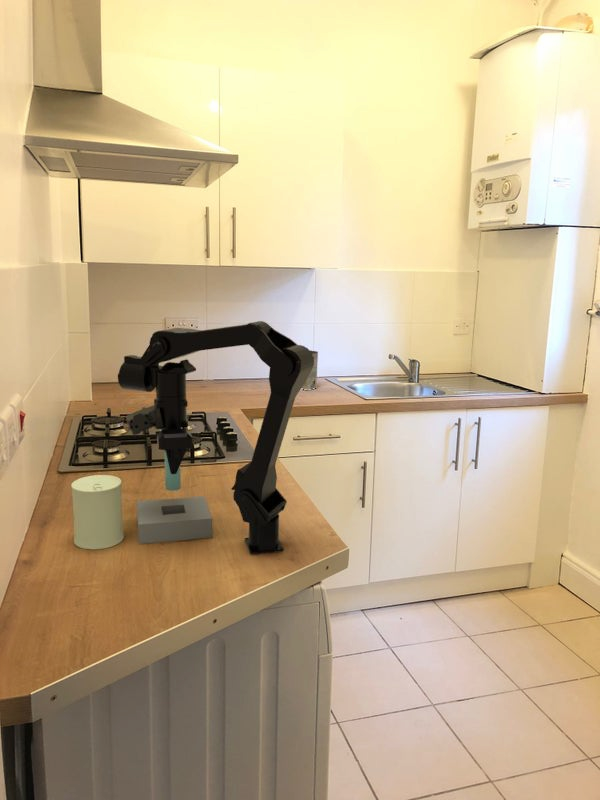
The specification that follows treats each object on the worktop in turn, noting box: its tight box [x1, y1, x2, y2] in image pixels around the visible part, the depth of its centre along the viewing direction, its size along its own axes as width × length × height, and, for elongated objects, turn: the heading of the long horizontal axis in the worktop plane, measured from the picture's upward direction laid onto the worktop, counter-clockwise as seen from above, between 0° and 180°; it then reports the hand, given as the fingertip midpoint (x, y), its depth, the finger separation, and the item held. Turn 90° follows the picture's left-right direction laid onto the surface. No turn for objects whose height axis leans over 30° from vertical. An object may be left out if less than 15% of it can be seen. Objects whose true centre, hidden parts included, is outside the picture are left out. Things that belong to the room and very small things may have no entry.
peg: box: [163, 450, 182, 492], centre depth 127 cm, size 3×3×10 cm
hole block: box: [136, 495, 213, 545], centre depth 130 cm, size 12×14×4 cm
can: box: [70, 474, 125, 551], centre depth 123 cm, size 9×9×12 cm
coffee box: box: [302, 349, 319, 390], centre depth 268 cm, size 9×6×16 cm
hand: (172, 471), depth 128 cm, fingers closed on peg, 3 cm apart
